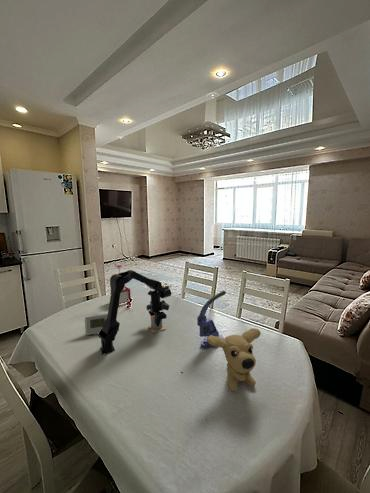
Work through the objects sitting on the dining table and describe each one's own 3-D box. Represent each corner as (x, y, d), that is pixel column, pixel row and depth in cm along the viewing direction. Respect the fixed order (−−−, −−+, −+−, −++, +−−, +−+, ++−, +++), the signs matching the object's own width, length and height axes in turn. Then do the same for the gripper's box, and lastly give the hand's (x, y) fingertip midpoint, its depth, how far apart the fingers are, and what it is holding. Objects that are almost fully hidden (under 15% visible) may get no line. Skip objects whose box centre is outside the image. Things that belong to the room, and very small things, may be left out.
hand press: (205, 352, 120) (205, 300, 115) (194, 345, 127) (194, 295, 122) (230, 340, 131) (231, 292, 127) (218, 333, 138) (219, 288, 134)
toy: (219, 405, 87) (220, 356, 84) (201, 371, 106) (201, 330, 103) (276, 390, 94) (278, 344, 91) (249, 361, 113) (251, 322, 110)
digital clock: (84, 336, 137) (82, 319, 135) (88, 328, 146) (87, 312, 144) (112, 334, 139) (111, 317, 137) (115, 327, 148) (114, 311, 146)
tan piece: (165, 329, 143) (164, 320, 142) (152, 333, 140) (152, 324, 139) (160, 324, 150) (159, 315, 149) (148, 327, 146) (147, 318, 146)
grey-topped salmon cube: (162, 327, 144) (161, 317, 143) (154, 329, 141) (153, 319, 140) (158, 323, 148) (158, 314, 147) (151, 325, 146) (150, 316, 145)
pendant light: (124, 298, 195) (122, 263, 191) (130, 302, 187) (128, 266, 182) (111, 302, 188) (109, 266, 184) (117, 306, 180) (115, 268, 175)
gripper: (174, 302, 138) (174, 327, 140) (161, 293, 154) (162, 315, 156) (156, 306, 133) (157, 332, 135) (145, 296, 149) (146, 319, 151)
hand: (156, 324), depth 144 cm, fingers closed on grey-topped salmon cube, 5 cm apart
